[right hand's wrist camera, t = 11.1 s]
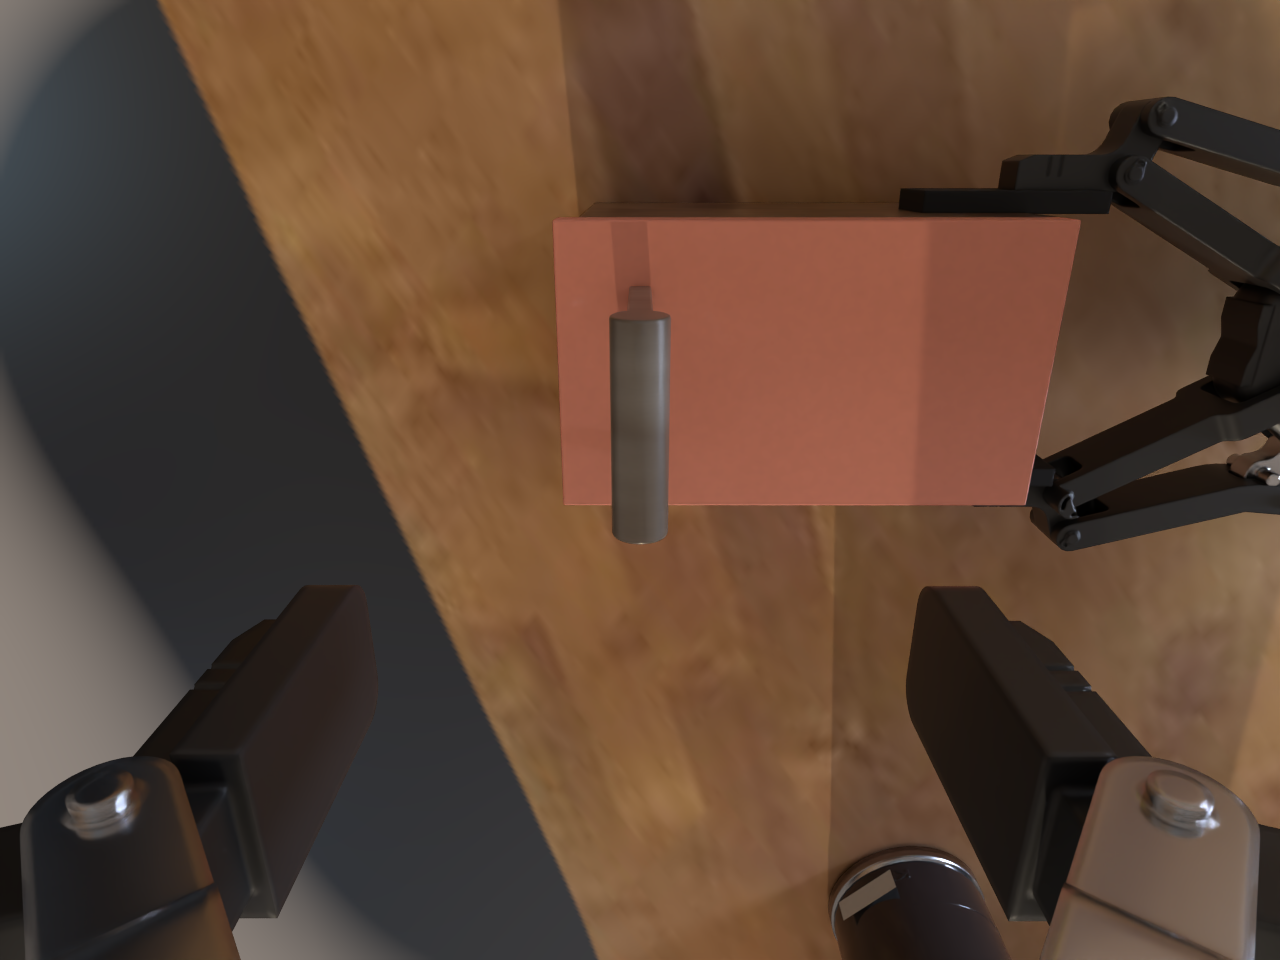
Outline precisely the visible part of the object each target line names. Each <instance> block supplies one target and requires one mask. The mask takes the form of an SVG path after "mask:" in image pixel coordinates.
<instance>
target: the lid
mask: <svg viewBox="0 0 1280 960" xmlns="http://www.w3.org/2000/svg"><path fill="white" fill-rule="evenodd" d="M552 223H553V248H554V274H555V300H556V325H557V351H558V377H559V403H560V428H561V454H562V480H563V504H564V505H612V533H613V535H614V536H615V537H616V538H617V539H618V540H620V541H623V542H626V543H631V544H649V543H654V542H657V541H660V540H662V539H663V538H664V537H665V536H666V535H667V533H668V505H1025V504H1026V500H1027V494H1028V489H1029V484H1030V479H1031V474H1032V469H1033V464H1034V459H1035V454H1036V449H1037V444H1038V438H1039V433H1040V428H1041V423H1042V418H1043V413H1044V408H1045V403H1046V398H1047V393H1048V388H1049V382H1050V377H1051V372H1052V367H1053V362H1054V357H1055V352H1056V347H1057V342H1058V337H1059V332H1060V326H1061V321H1062V316H1063V311H1064V306H1065V301H1066V296H1067V291H1068V286H1069V281H1070V276H1071V270H1072V265H1073V260H1074V255H1075V250H1076V245H1077V240H1078V235H1079V230H1080V225H1081V220H1077V219H1069V218H1062V217H558V218H556V219H554V220H553V222H552Z"/></svg>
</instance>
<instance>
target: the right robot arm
mask: <svg viewBox="0 0 1280 960" xmlns="http://www.w3.org/2000/svg"><path fill="white" fill-rule="evenodd" d="M377 695H378V677H377V669H376V662H375V655H374V649H373V642H372V635H371V628H370V621H369V614H368V608H367V602H366V597H365V593H364V591H363V589H362V588H361V587H360V586H358V585H306V586H304V587H302V588H301V589H300V590H299V592H298V593H297V594H296V595H295V597H294V598H293V599H292V600H291V602H290V603H289V604H288V605H287V607H286V608H285V609H284V610H283V612H282V613H281V614H280V615H279V617H278V618H277V619H276V620H263V621H262V622H260V623H259V624H257V625H255V626H254V627H252V628H251V629H249V630H247V631H246V632H244V633H243V634H241V635H240V636H238V637H236V638H235V639H233V640H232V641H231V642H230V643H229V645H228V646H227V647H226V648H225V649H224V650H223V652H222V653H221V654H220V655H219V656H218V657H217V659H216V660H215V661H214V662H213V663H212V668H211V669H207V670H206V672H205V673H204V674H203V675H202V676H201V677H200V679H199V680H198V681H197V682H196V683H195V687H194V690H189V691H188V693H187V694H186V695H185V696H184V697H183V698H182V700H181V701H180V702H179V703H178V704H177V706H176V707H175V708H174V709H173V710H172V711H171V713H170V714H169V715H168V716H167V717H166V718H165V720H164V721H163V722H162V723H161V724H160V726H159V727H158V728H157V729H156V730H155V731H154V733H153V734H152V735H151V736H150V737H149V738H148V740H147V741H146V742H145V743H144V744H143V745H142V747H141V748H140V749H139V750H138V751H137V752H136V754H135V755H134V756H133V757H126V758H121V759H116V760H112V761H108V762H105V763H102V764H99V765H96V766H93V767H91V768H88V769H86V770H83V771H81V772H79V773H77V774H75V775H73V776H71V777H70V778H68V779H66V780H65V781H63V782H61V783H60V784H58V785H57V786H55V787H54V788H53V789H51V790H50V791H49V792H47V793H46V794H45V795H44V796H43V797H42V798H41V799H40V800H38V801H37V803H36V804H35V805H34V806H33V807H32V808H31V809H30V811H29V812H28V814H27V815H26V817H25V818H24V821H23V823H20V824H15V825H11V826H6V827H2V828H0V960H241V959H240V956H239V953H238V950H237V947H236V943H235V940H234V937H233V934H232V931H233V929H234V927H235V925H236V923H237V922H238V919H239V918H278V916H279V913H280V911H281V909H282V907H283V905H284V903H285V901H286V899H287V897H288V895H289V893H290V891H291V888H292V886H293V884H294V882H295V880H296V878H297V876H298V874H299V872H300V870H301V868H302V866H303V863H304V861H305V859H306V857H307V855H308V853H309V851H310V849H311V847H312V845H313V843H314V840H315V838H316V836H317V834H318V832H319V830H320V828H321V826H322V824H323V822H324V820H325V818H326V815H327V813H328V811H329V809H330V807H331V805H332V803H333V801H334V799H335V797H336V795H337V792H338V790H339V788H340V786H341V784H342V782H343V780H344V778H345V776H346V774H347V772H348V770H349V768H350V765H351V763H352V761H353V759H354V757H355V755H356V753H357V751H358V749H359V747H360V744H361V742H362V740H363V738H364V736H365V734H366V732H367V730H368V728H369V726H370V724H371V721H372V719H373V716H374V713H375V709H376V703H377ZM906 697H907V705H908V710H909V714H910V717H911V721H912V723H913V725H914V727H915V729H916V731H917V733H918V735H919V738H920V740H921V742H922V744H923V746H924V748H925V750H926V752H927V754H928V756H929V758H930V760H931V762H932V764H933V766H934V768H935V770H936V773H937V775H938V777H939V779H940V781H941V783H942V785H943V787H944V789H945V791H946V793H947V795H948V797H949V799H950V801H951V803H952V806H953V808H954V810H955V812H956V814H957V816H958V818H959V820H960V822H961V824H962V826H963V828H964V830H965V832H966V834H967V836H968V838H969V841H970V843H971V845H972V847H973V849H974V851H975V853H976V855H977V857H978V859H979V861H980V863H981V865H982V867H983V869H984V871H985V873H986V876H987V878H988V880H989V882H990V884H991V886H992V888H993V890H994V892H995V894H996V896H997V898H998V900H999V902H1000V904H1001V906H1002V908H1003V911H1004V913H1005V915H1006V917H1007V919H1008V921H1047V922H1048V924H1049V926H1050V928H1049V931H1048V934H1047V937H1046V940H1045V943H1044V947H1043V950H1042V953H1041V956H1040V959H1039V960H1280V829H1277V828H1273V827H1268V826H1265V825H1261V824H1258V823H1257V821H1256V818H1255V817H1254V815H1253V814H1252V812H1251V811H1250V809H1249V808H1248V807H1247V806H1246V805H1245V804H1244V803H1243V801H1242V800H1241V799H1239V798H1238V797H1237V796H1236V795H1235V794H1234V793H1233V792H1231V791H1230V790H1229V789H1227V788H1226V787H1225V786H1223V785H1222V784H1220V783H1219V782H1217V781H1215V780H1214V779H1212V778H1210V777H1209V776H1207V775H1205V774H1203V773H1201V772H1199V771H1197V770H1194V769H1192V768H1189V767H1187V766H1184V765H1182V764H1178V763H1175V762H1172V761H1169V760H1164V759H1160V758H1154V757H1152V756H1151V755H1150V754H1149V753H1148V752H1147V751H1146V749H1145V748H1144V747H1143V746H1142V745H1141V744H1140V742H1139V741H1138V740H1137V739H1136V738H1135V737H1134V735H1133V734H1132V733H1131V732H1130V731H1129V730H1128V729H1127V727H1126V726H1125V725H1124V724H1123V723H1122V722H1121V720H1120V719H1119V718H1118V717H1117V716H1116V715H1115V713H1114V712H1113V711H1112V710H1111V709H1110V708H1109V706H1108V705H1107V704H1106V703H1105V702H1104V701H1103V699H1102V698H1101V697H1100V696H1099V695H1098V694H1097V692H1092V691H1091V686H1090V684H1089V683H1088V682H1087V681H1086V680H1085V679H1084V677H1083V676H1082V675H1081V674H1080V673H1079V672H1078V671H1074V666H1073V665H1072V663H1071V662H1070V661H1069V660H1068V659H1067V658H1066V656H1065V655H1064V654H1063V653H1062V652H1061V651H1060V649H1059V648H1058V647H1057V646H1056V645H1055V644H1054V643H1053V642H1052V641H1051V640H1049V639H1048V638H1046V637H1045V636H1043V635H1041V634H1040V633H1038V632H1037V631H1035V630H1034V629H1032V628H1030V627H1029V626H1027V625H1026V624H1024V623H1023V622H1021V621H1008V619H1007V618H1006V617H1005V616H1004V614H1003V613H1002V612H1001V611H1000V609H999V608H998V607H997V606H996V605H995V603H994V602H993V601H992V600H991V598H990V597H989V596H988V595H987V593H986V592H985V591H984V590H983V589H982V588H980V587H977V586H927V587H925V588H923V590H922V591H921V593H920V595H919V599H918V604H917V610H916V617H915V623H914V630H913V637H912V644H911V650H910V657H909V664H908V670H907V678H906ZM828 909H829V917H830V921H831V925H832V929H833V932H834V935H835V938H836V940H837V941H838V946H839V950H840V954H841V958H842V960H1011V958H1010V956H1009V954H1008V951H1007V949H1006V947H1005V945H1004V943H1003V941H1002V939H1001V936H1000V934H999V931H998V929H997V927H996V925H995V923H994V921H993V919H992V917H991V914H990V912H989V910H988V908H987V906H986V904H985V900H984V896H983V893H982V891H981V889H980V887H979V885H978V882H977V880H976V878H975V876H974V874H973V873H972V871H971V870H970V869H969V868H968V867H967V865H966V864H964V863H963V862H962V861H961V860H959V859H958V858H956V857H955V856H953V855H951V854H949V853H946V852H944V851H941V850H938V849H933V848H928V847H918V846H907V847H898V848H892V849H888V850H884V851H881V852H877V853H875V854H872V855H870V856H868V857H866V858H864V859H862V860H860V861H859V862H857V863H856V864H854V865H853V866H852V867H850V868H849V869H848V870H847V871H846V872H845V873H844V874H843V875H842V876H841V877H840V878H839V880H838V881H837V883H836V884H835V886H834V888H833V890H832V892H831V895H830V899H829V905H828Z"/></svg>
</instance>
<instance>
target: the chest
mask: <svg viewBox="0 0 1280 960" xmlns="http://www.w3.org/2000/svg"><path fill="white" fill-rule="evenodd" d="M898 208H899V203H594V204H593V205H592V206H591V207H590V208H589V209H588V210H587V211H585V212H584V213H583V214H582V215H581V216H580V217H1054V216H1046V215H1039V214H1031V213H919V212H913V211H908V210H902V209H898Z"/></svg>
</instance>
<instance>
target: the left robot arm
mask: <svg viewBox="0 0 1280 960" xmlns="http://www.w3.org/2000/svg"><path fill="white" fill-rule="evenodd" d="M1109 128H1110V131H1109V133H1108V135H1107V136H1106V138H1105V140H1104V142H1103V143H1102V145H1101V146H1100V147H1099V148H1098V149H1096V150H1095V151H1093V152H1092V153H1089V154H1086V155H1016V156H1014V157H1011V158H1009V159H1006V160H1004V161H1002V167H1001V173H1000V179H999V186H998V188H901V191H900V200H899V208H898V209H902V210H908V211H913V212H919V213H1031V214H1109V209H1110V205H1113V206H1114V207H1116V208H1117V209H1119V210H1120V211H1122V212H1124V213H1125V214H1127V215H1128V216H1130V217H1131V218H1133V219H1134V220H1136V221H1137V222H1139V223H1140V224H1142V225H1143V226H1145V227H1146V228H1148V229H1150V230H1151V231H1153V232H1154V233H1156V234H1157V235H1159V236H1160V237H1162V238H1163V239H1165V240H1166V241H1168V242H1169V243H1171V244H1172V245H1174V246H1176V247H1177V248H1179V249H1180V250H1182V251H1183V252H1185V253H1186V254H1188V255H1189V256H1191V257H1192V258H1194V259H1195V260H1197V261H1198V262H1200V263H1202V264H1203V265H1205V266H1206V267H1207V268H1209V270H1208V271H1209V272H1210V273H1211V274H1212V275H1214V276H1215V277H1217V278H1218V279H1220V280H1222V281H1223V282H1225V283H1226V284H1228V285H1229V286H1231V287H1232V288H1234V289H1235V290H1237V292H1236V294H1235V296H1234V297H1226V301H1225V305H1224V308H1223V312H1222V316H1221V338H1220V339H1219V341H1218V343H1217V345H1216V347H1215V349H1214V351H1213V352H1212V354H1211V357H1210V360H1209V364H1208V368H1207V371H1206V374H1207V375H1209V376H1207V377H1205V378H1203V379H1200V380H1198V381H1196V382H1194V383H1192V384H1190V385H1188V386H1185V387H1183V388H1181V389H1180V390H1178V391H1177V393H1176V397H1175V398H1174V399H1172V400H1170V401H1168V402H1166V403H1163V404H1161V405H1159V406H1157V407H1155V408H1153V409H1150V410H1148V411H1146V412H1144V413H1142V414H1140V415H1138V416H1135V417H1133V418H1131V419H1129V420H1127V421H1125V422H1122V423H1120V424H1118V425H1116V426H1114V427H1112V428H1110V429H1107V430H1105V431H1103V432H1101V433H1099V434H1097V435H1094V436H1092V437H1090V438H1088V439H1086V440H1084V441H1082V442H1079V443H1077V444H1075V445H1073V446H1071V447H1069V448H1066V449H1064V450H1062V451H1060V452H1058V453H1056V454H1054V455H1051V456H1049V457H1047V458H1045V459H1042V458H1040V457H1039V456H1037V455H1036V454H1035V459H1034V464H1033V469H1032V474H1031V479H1030V484H1029V489H1028V494H1027V500H1026V504H1025V505H972V506H974V507H987V506H990V507H997V506H1000V507H1032V510H1031V512H1030V519H1031V522H1032V523H1033V524H1034V525H1035V526H1037V527H1038V529H1039V530H1041V531H1042V532H1043V533H1044V534H1045V535H1046V536H1047V537H1048V538H1049V539H1050V540H1051V541H1053V542H1054V543H1055V544H1056V545H1057V546H1058V547H1059V548H1060V549H1062V550H1065V551H1074V550H1078V549H1082V548H1087V547H1091V546H1096V545H1100V544H1105V543H1109V542H1113V541H1118V540H1122V539H1127V538H1131V537H1136V536H1140V535H1144V534H1149V533H1153V532H1158V531H1162V530H1167V529H1171V528H1176V527H1180V526H1184V525H1189V524H1193V523H1198V522H1202V521H1207V520H1211V519H1215V518H1220V517H1224V516H1229V515H1233V514H1238V513H1242V512H1254V513H1266V514H1278V515H1280V247H1279V246H1277V245H1275V244H1274V243H1272V242H1271V241H1269V240H1268V239H1267V238H1265V237H1264V236H1262V235H1261V234H1259V233H1258V232H1256V231H1255V230H1253V229H1252V228H1250V227H1249V226H1247V225H1246V224H1244V223H1243V222H1241V221H1240V220H1238V219H1237V218H1235V217H1234V216H1232V215H1231V214H1229V213H1228V212H1226V211H1225V210H1223V209H1222V208H1221V207H1219V206H1218V205H1216V204H1215V203H1213V202H1212V201H1210V200H1209V199H1207V198H1206V197H1204V196H1203V195H1201V194H1200V193H1198V192H1197V191H1195V190H1194V189H1192V188H1191V187H1189V186H1188V185H1186V184H1185V183H1183V182H1182V181H1180V180H1179V179H1178V178H1176V177H1175V176H1173V175H1172V174H1170V173H1169V172H1167V171H1166V170H1164V169H1163V168H1161V167H1160V166H1158V165H1157V164H1155V163H1154V162H1152V159H1153V157H1154V156H1155V154H1156V152H1157V150H1161V151H1164V152H1167V153H1171V154H1174V155H1177V156H1181V157H1184V158H1187V159H1190V160H1194V161H1197V162H1200V163H1203V164H1207V165H1210V166H1213V167H1216V168H1220V169H1223V170H1226V171H1229V172H1233V173H1236V174H1239V175H1242V176H1246V177H1249V178H1252V179H1255V180H1259V181H1262V182H1265V183H1268V184H1272V185H1276V186H1280V130H1278V129H1275V128H1272V127H1268V126H1265V125H1262V124H1259V123H1256V122H1252V121H1249V120H1246V119H1243V118H1240V117H1237V116H1233V115H1230V114H1227V113H1224V112H1221V111H1218V110H1214V109H1211V108H1208V107H1205V106H1202V105H1198V104H1195V103H1192V102H1189V101H1186V100H1183V99H1179V98H1176V97H1162V98H1154V99H1146V100H1138V101H1129V102H1125V103H1122V104H1120V105H1119V106H1118V107H1116V108H1115V109H1114V111H1113V112H1112V114H1111V116H1110V120H1109ZM1260 432H1261V433H1263V434H1264V435H1265V436H1266V437H1268V440H1267V442H1266V443H1265V445H1264V446H1263V447H1262V448H1260V449H1259V450H1257V451H1255V452H1250V453H1244V454H1242V455H1239V454H1233V455H1231V456H1229V457H1228V459H1227V462H1226V463H1227V464H1207V465H1200V466H1195V467H1190V468H1186V469H1182V470H1177V471H1173V472H1169V473H1164V474H1160V475H1156V476H1152V477H1147V478H1143V479H1139V478H1141V477H1143V476H1146V475H1148V474H1150V473H1152V472H1154V471H1157V470H1159V469H1161V468H1163V467H1166V466H1168V465H1170V464H1172V463H1174V462H1177V461H1179V460H1181V459H1183V458H1186V457H1188V456H1190V455H1192V454H1194V453H1197V452H1199V451H1201V450H1203V449H1206V448H1208V447H1210V446H1212V445H1214V444H1217V443H1219V442H1222V441H1238V440H1243V439H1246V438H1248V437H1251V436H1253V435H1255V434H1257V433H1260ZM1137 479H1139V480H1137Z"/></svg>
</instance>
